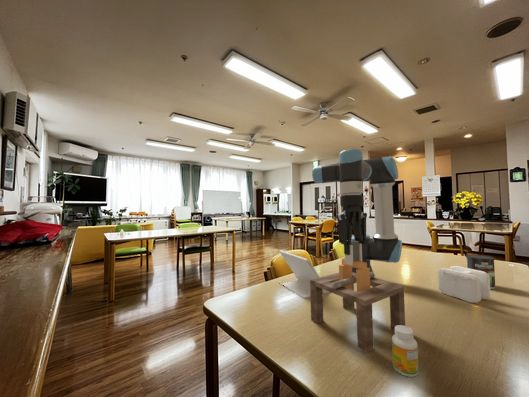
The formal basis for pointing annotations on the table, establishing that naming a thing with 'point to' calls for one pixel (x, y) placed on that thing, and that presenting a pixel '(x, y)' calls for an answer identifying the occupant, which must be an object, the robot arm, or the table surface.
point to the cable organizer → (464, 283)
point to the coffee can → (482, 266)
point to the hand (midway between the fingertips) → (353, 263)
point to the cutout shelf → (359, 303)
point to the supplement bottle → (405, 351)
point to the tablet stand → (300, 274)
